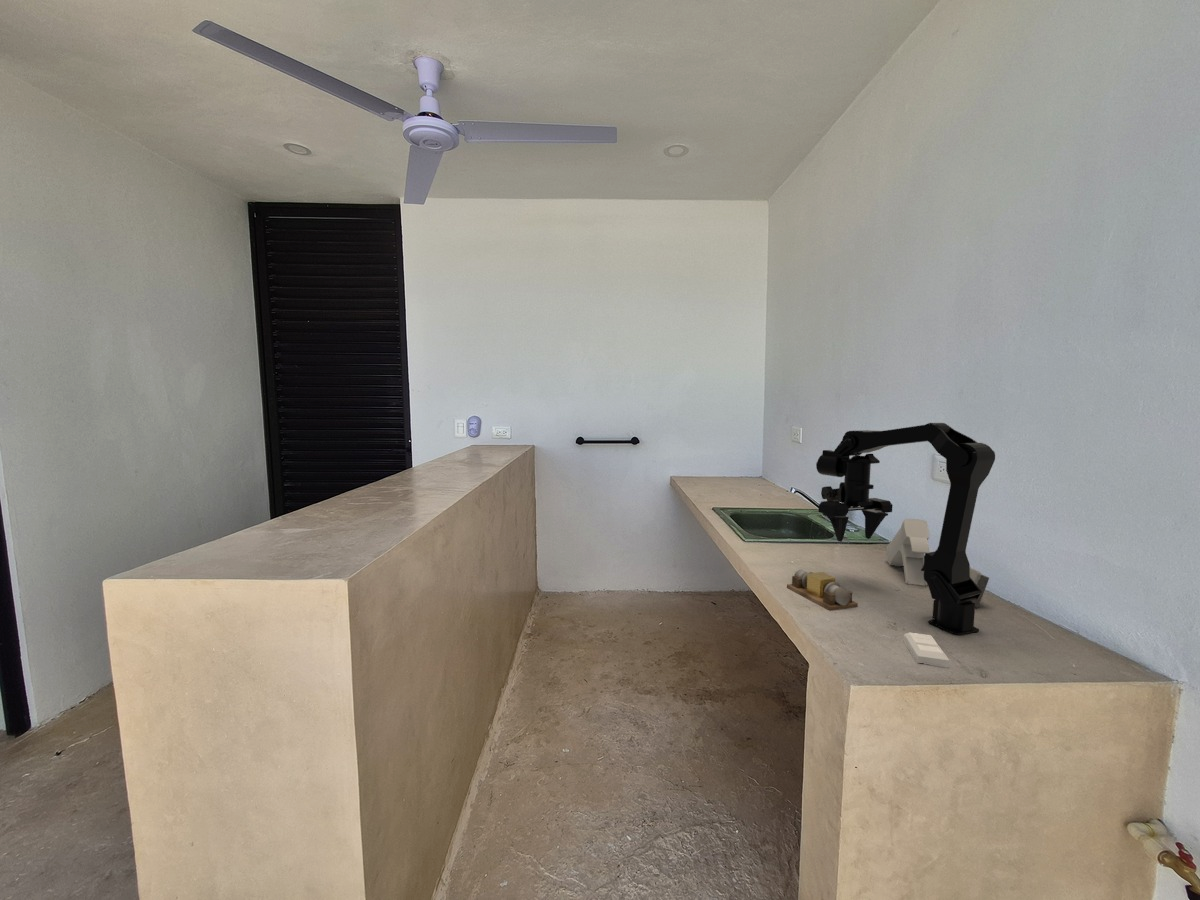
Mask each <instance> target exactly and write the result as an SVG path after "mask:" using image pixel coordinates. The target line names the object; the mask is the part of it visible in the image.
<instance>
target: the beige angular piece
mask: <svg viewBox="0 0 1200 900" xmlns="http://www.w3.org/2000/svg"><path fill="white" fill-rule="evenodd" d="M902 521H903V522H902V524H901V526H900V527H899V529H898V530H897V532H896V533H895V535H894V536H893V538H892V539H891V541H890V542H889V544H888V545H887V547H886V557H887V562H888V565H889V566H892V565H895V566H894V567H900V566H904V567H903V572H904V582H905V583H906V585H912V584H913V585H914V586H921V587H922V586H923V587H929V586H928V584H927V582H926V581H925V580H924V571H921V569H922V568H923V565H924V556H925V553H929V552H931V551H930V547H929V546H930V545H929V541H928V540H929V539H930V529H929V525H928V522H927V520H925V519H919V518H904V519H903V520H902Z"/></svg>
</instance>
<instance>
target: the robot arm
mask: <svg viewBox="0 0 1200 900" xmlns="http://www.w3.org/2000/svg"><path fill="white" fill-rule="evenodd" d="M922 442H923V443H924V442H928V443H929V444H930V445H931V446H932V447H933V448H934V450H935V452H936V453H938V454H939V455H941V457H943V458H944V459H945V460H946V461H945V462H946V465H945V467H946V468H945V470H946V474H947V476H948V479H949V483H950V485H949V491H948V496H947V501H946V505H945V506H946V507H945V512H944V517H943V522H942V527H941V531H940V537H939V542H938V546H937V548H936V549H935V551H930V552H929V553H924V565H923V568H922V569H921V571H924V580H925V581H926V582H927V584H928V586H927V587H928V589H929V593H930V596H931V599H933V604H932V618H931V619H928V624H931V625H934V626H936V627H938V628H940V629H943V630H945V631H947V632H949V633H952V634H954V635H956V636H961V635H964V634H965V635H966V634H972V633H978V632H979V631H980V629H979V628H978V627H976V626H975V624H974V623H975V613H976V612H975V610H976V607H975V605H976V604H975V603H972V602H971V601H973V600H978V599H979V597H980V595H981V594H982V591H981V590H980V589H979V587H978V586H977V585H976V584H975V582H974V581H973V580H972V579H971V578H970V568H971V567H970V566H971V565H970V561H969V559H968V556H967V555H968V554H967V553H966V551H967V545H968V542H969V536H970V532H971V531H970V530H971V526H972V521H973V518H974V517H973V516H974V512H975V508H976V501H977V499H978V493H979V490H980V489H979V488H980V487H981V485H982V484H983V483H984V482H985V480H986V479H987V477H988V476H989V474H990V473H991V469H992V468H993V466H994V463H995V461H996V452H995V451H994V450H993V449H992V447H991V446H989V444H986V443H983V442H978V441H976V440H975V439H973V438H972V437H970V436H967V435H966V434H963V433H962V432H960V431H957V430H955V429H954V428H953V427H951V426H950V425H949V424H947V423H945V422H928V423H925V424H921V425H915V426H909V427H907V426H906V427H900V428H894V429H886V430H868V429H867V430H847V431H846V432H845V433H844V435H843V436H842V440H841V441H840V443H838V445H837V446H836V448H835V449H834V450H831V449H825V450H824V449H823V450H822V453H821V455H820V456H819V457H818V459H817V461H816V462H815V464H816V467H815V468H816V471H817V472H818V474H820V475H822V476H830V477H837V478H843V477H844V478H843V479H844V480H843V482H840V483H839V487H838V488H833V487H832V486H830V485H829V486H823V487H821V490H820V491H821V493H820V494H821V499H823V501H820V502H819V503H818V513H821V514H822V515H823V516H824V517H827V518H828V519H829V521H830V523H831V526H832V529H833V532H834V534H835V537H836V540H837V542H840V543H841V542H842V541H843V540H844V536H845V533H846V530H847V526H848V521H849V516H848V514H849V512H852V511H861V512H862V515H864V536H865V539H866V540H867V539H868V540H870V539H871V538H872V537H873V535H874V533H875V532H876V531H877V529H878V527H879V526H880V524H881V523H882V522H883V521H884V519H885V518H886V517H888V516H889V513H892V512H893V506H894V505H893V504H892V503H891V501H890V500H887V499H882V498H877V497H871V498H870V490H874V484H870V483H871V466H872V465H873V464H875V465H876V464H880V462H881V461H880V460H879V459H878V458H877V457H876V456H875V455H874V453H872V452H875V451H880V450H881V449H884V448H886V447H891V446H898V445H906V444H916V443H922ZM862 454H865V455H862ZM871 464H872V465H871Z"/></svg>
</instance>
